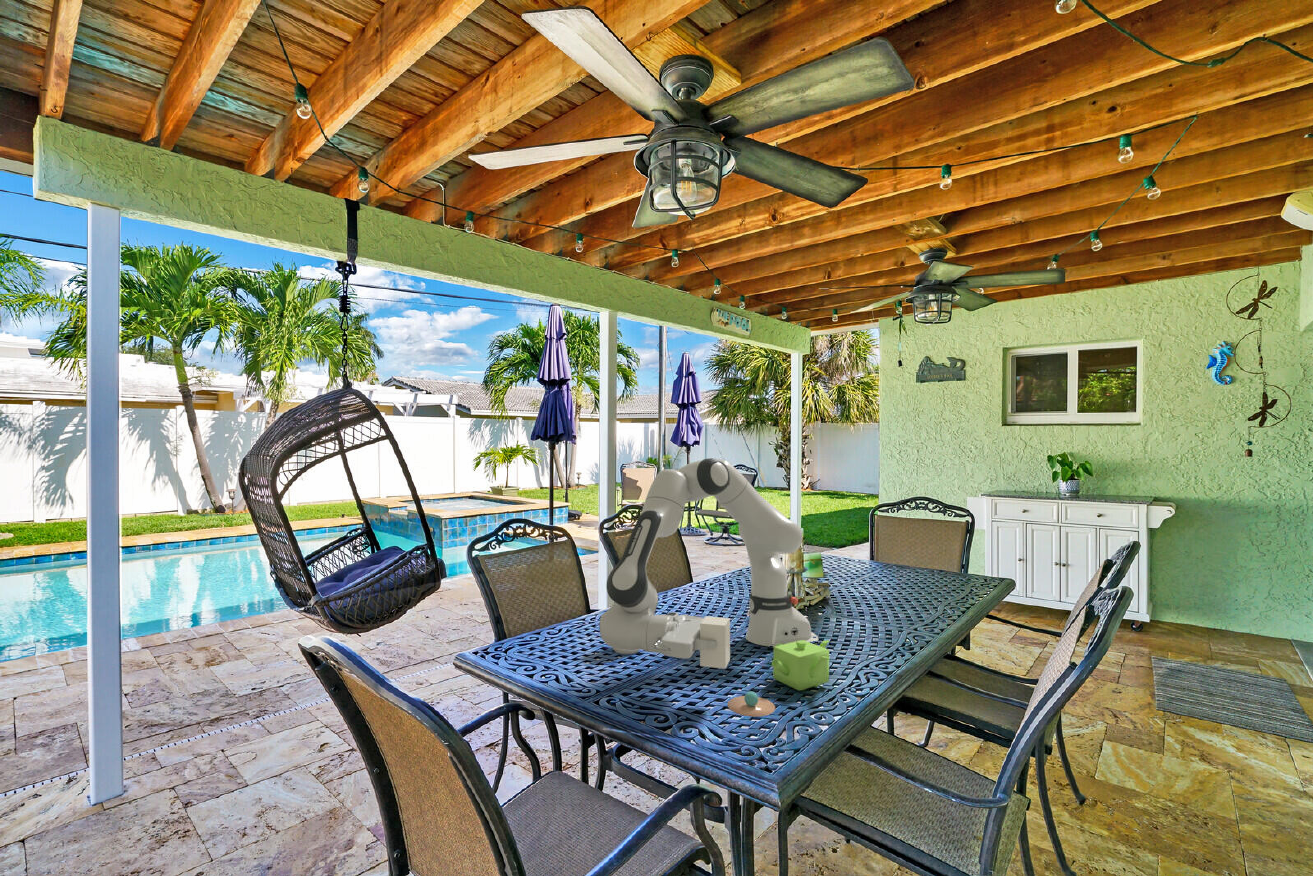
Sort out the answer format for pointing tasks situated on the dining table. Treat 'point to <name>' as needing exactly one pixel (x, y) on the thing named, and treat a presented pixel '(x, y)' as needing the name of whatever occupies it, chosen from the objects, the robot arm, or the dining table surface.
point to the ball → (751, 698)
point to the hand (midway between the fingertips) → (718, 639)
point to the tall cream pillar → (721, 633)
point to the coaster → (751, 707)
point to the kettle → (801, 664)
